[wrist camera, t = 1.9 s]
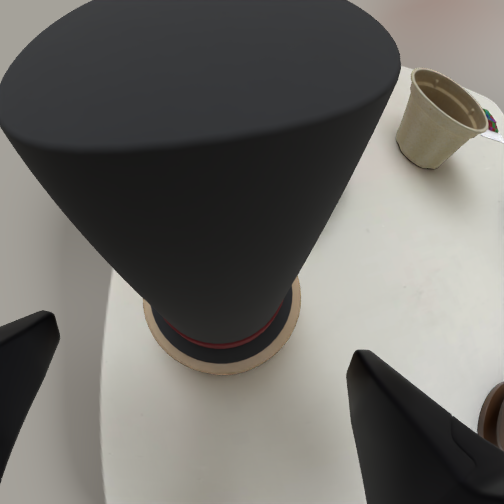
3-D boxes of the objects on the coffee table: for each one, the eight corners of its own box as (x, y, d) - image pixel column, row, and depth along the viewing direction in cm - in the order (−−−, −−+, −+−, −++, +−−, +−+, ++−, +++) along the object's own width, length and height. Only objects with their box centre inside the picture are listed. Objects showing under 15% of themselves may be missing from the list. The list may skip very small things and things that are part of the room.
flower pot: (454, 195, 27) (498, 146, 19) (382, 163, 28) (417, 101, 20) (445, 139, 31) (477, 93, 23) (382, 111, 32) (407, 57, 24)
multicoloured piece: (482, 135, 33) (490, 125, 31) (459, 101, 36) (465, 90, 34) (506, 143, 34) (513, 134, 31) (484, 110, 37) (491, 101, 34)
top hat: (299, 355, 16) (546, 221, 2) (154, 367, 15) (-109, 269, 1) (280, 226, 19) (345, -23, 5) (153, 235, 18) (60, -2, 5)
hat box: (295, 367, 20) (311, 364, 16) (163, 377, 19) (144, 377, 15) (279, 246, 23) (288, 217, 19) (159, 255, 23) (144, 227, 19)
